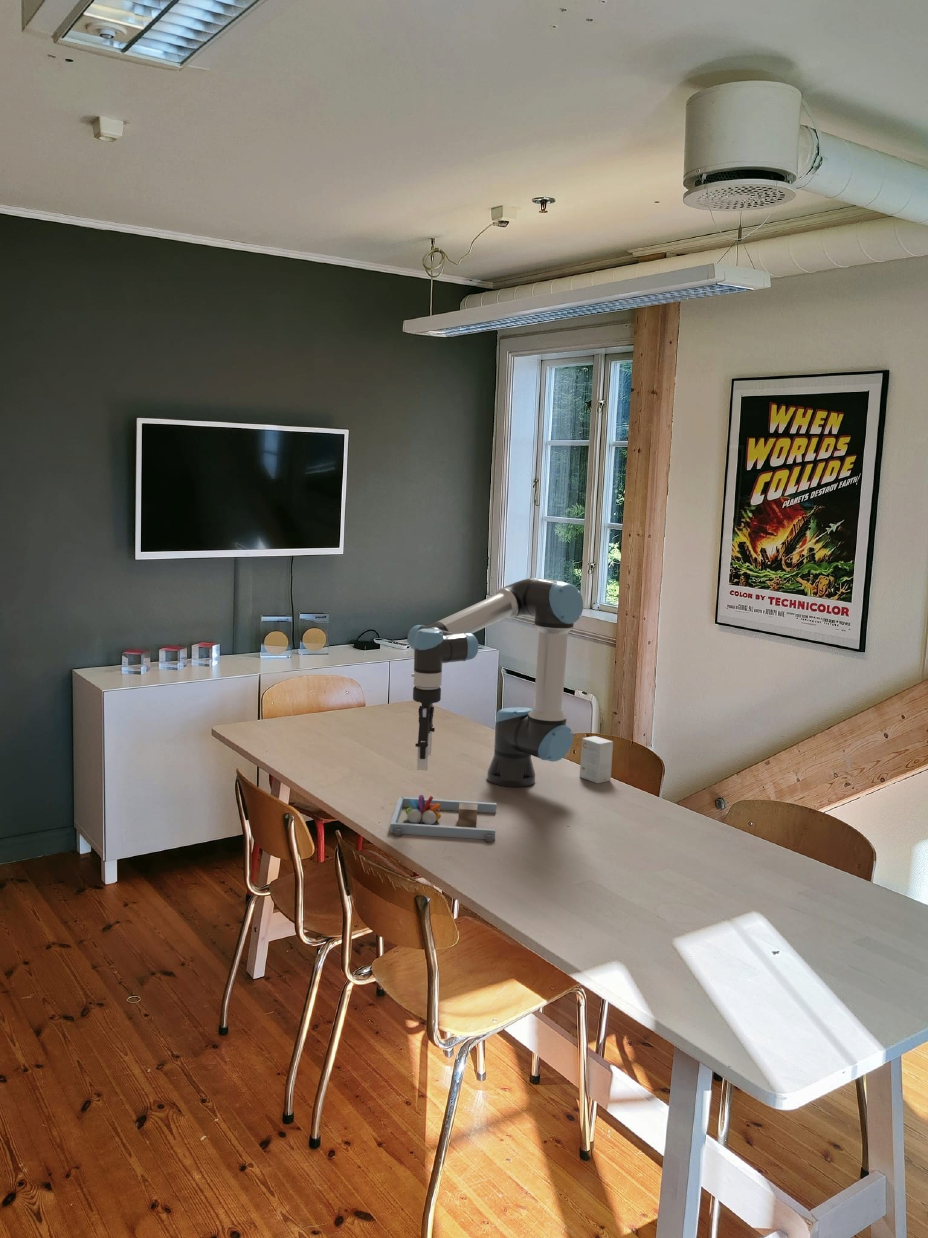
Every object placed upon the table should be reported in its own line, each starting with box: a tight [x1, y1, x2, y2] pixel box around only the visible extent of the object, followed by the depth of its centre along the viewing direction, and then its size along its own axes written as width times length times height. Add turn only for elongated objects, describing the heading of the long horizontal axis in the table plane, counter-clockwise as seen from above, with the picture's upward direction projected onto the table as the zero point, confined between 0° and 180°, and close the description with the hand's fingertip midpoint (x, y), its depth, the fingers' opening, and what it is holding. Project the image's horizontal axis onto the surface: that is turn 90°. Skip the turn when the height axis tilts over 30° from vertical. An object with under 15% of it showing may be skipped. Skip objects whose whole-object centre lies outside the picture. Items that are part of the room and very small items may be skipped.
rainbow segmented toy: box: [405, 794, 442, 825], centre depth 277 cm, size 8×10×7 cm
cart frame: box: [389, 796, 497, 844], centre depth 277 cm, size 28×27×2 cm
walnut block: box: [457, 803, 478, 828], centre depth 277 cm, size 5×5×5 cm
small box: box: [579, 735, 614, 784], centre depth 323 cm, size 8×6×13 cm
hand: (424, 762), depth 275 cm, fingers open, 13 cm apart
